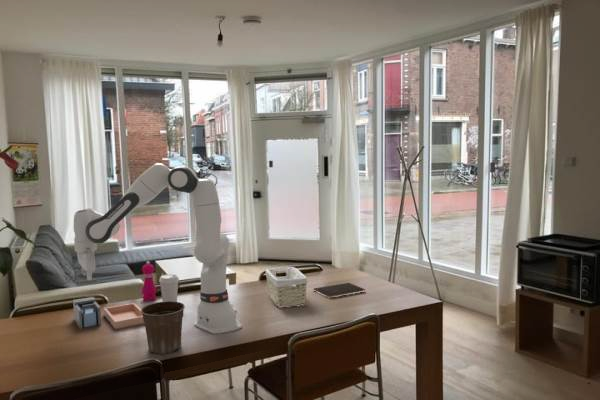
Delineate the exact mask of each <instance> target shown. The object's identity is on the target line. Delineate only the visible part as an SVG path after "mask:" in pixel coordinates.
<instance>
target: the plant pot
mask: <svg viewBox="0 0 600 400" xmlns="http://www.w3.org/2000/svg"><path fill="white" fill-rule="evenodd" d="M185 308H186V306H185V304H184V303H182V302H180V301H177V302H175V301H166V302H162V301H158V302H153V303H150V304H147V305H144V306H143V307H142V308H140V309H141V313H142V315H143V321H144V322H145V324H144V328H145V332H146V333H145V335H146V338H147V339H146V340H147V349H148V351H149V353H154V354H155V355H165V354H171V353H173V352H175V351H176V350H179V349H180V348H181V346H182V332H183V331H182V329H183V317H184V310H185Z"/></svg>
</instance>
